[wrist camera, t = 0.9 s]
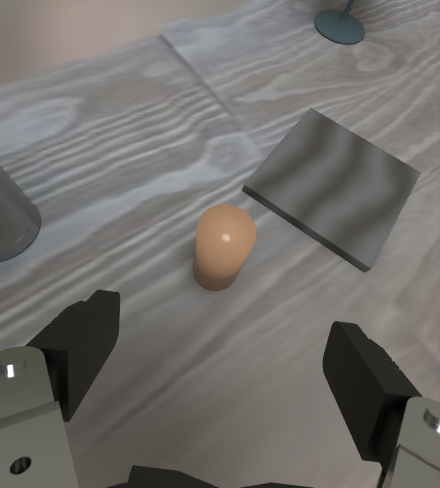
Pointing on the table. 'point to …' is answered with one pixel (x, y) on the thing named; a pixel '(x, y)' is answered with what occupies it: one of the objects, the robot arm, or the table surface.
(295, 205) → the charcoal board
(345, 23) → the cocktail glass
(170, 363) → the table surface
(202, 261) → the tan dome-topped cylinder
